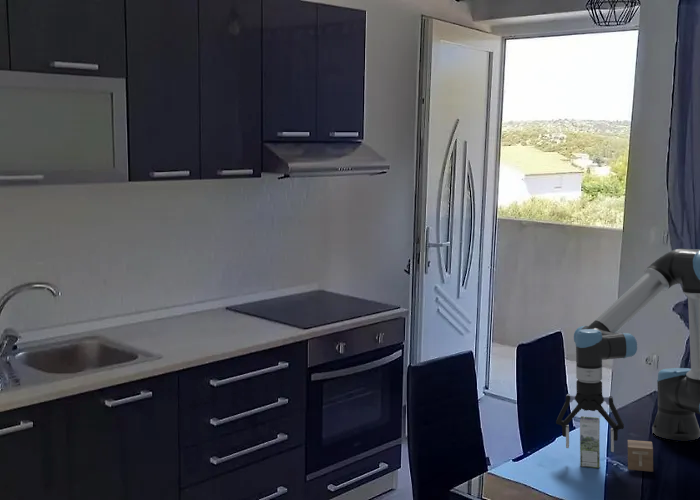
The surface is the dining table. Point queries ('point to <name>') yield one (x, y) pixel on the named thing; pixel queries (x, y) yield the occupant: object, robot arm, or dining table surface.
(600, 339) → the robot arm
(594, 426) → the syrup box
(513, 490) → the dining table surface
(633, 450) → the letter cube
